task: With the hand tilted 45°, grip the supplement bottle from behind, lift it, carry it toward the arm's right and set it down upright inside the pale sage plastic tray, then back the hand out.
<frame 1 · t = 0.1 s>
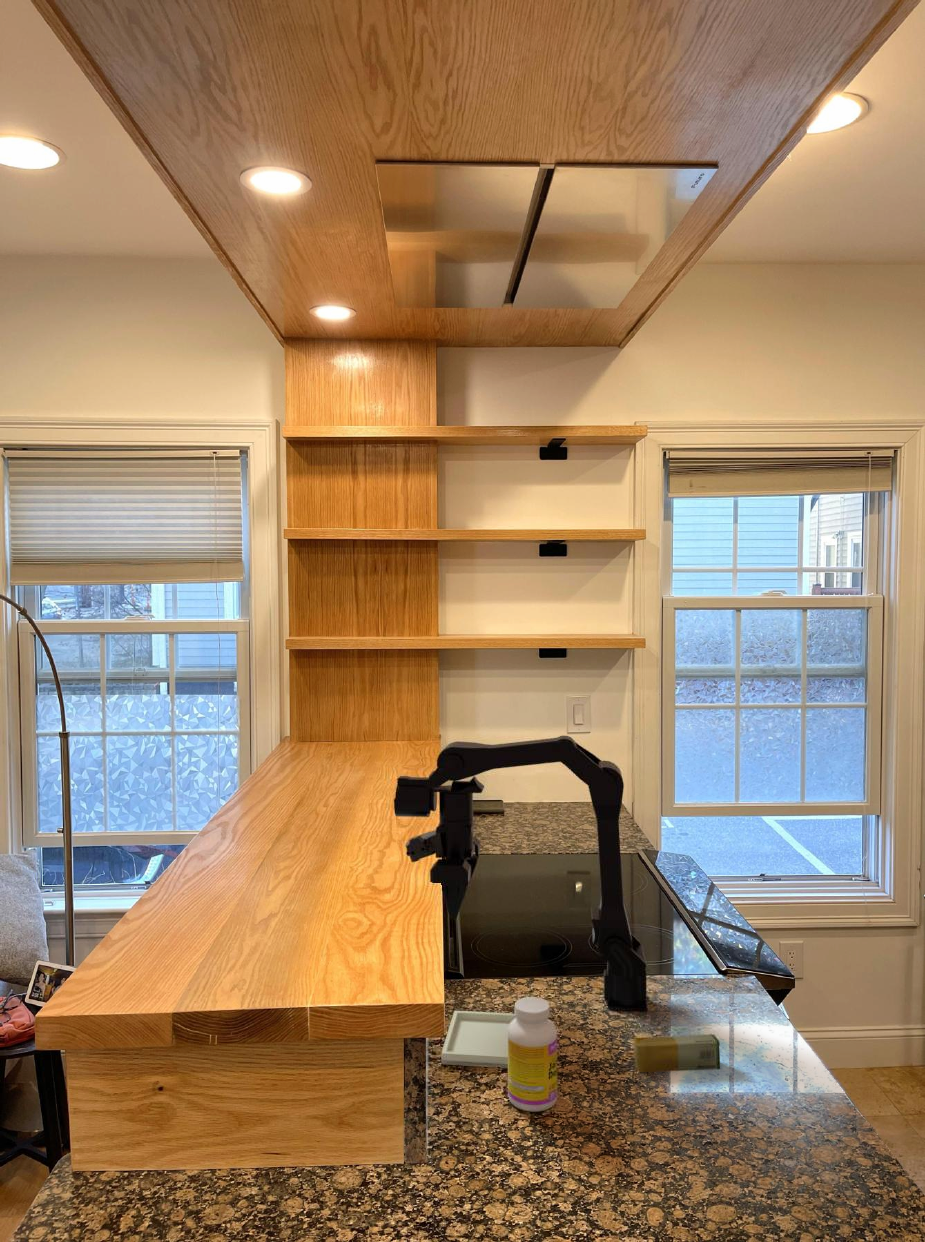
hand: (457, 908, 147), 15 cm above the worktop, tool pointing down, fingers open, 9 cm apart
medication box: (676, 1068, 124), on the worktop
tray: (491, 1043, 131), on the worktop
supplement bottle: (532, 1100, 116), on the worktop
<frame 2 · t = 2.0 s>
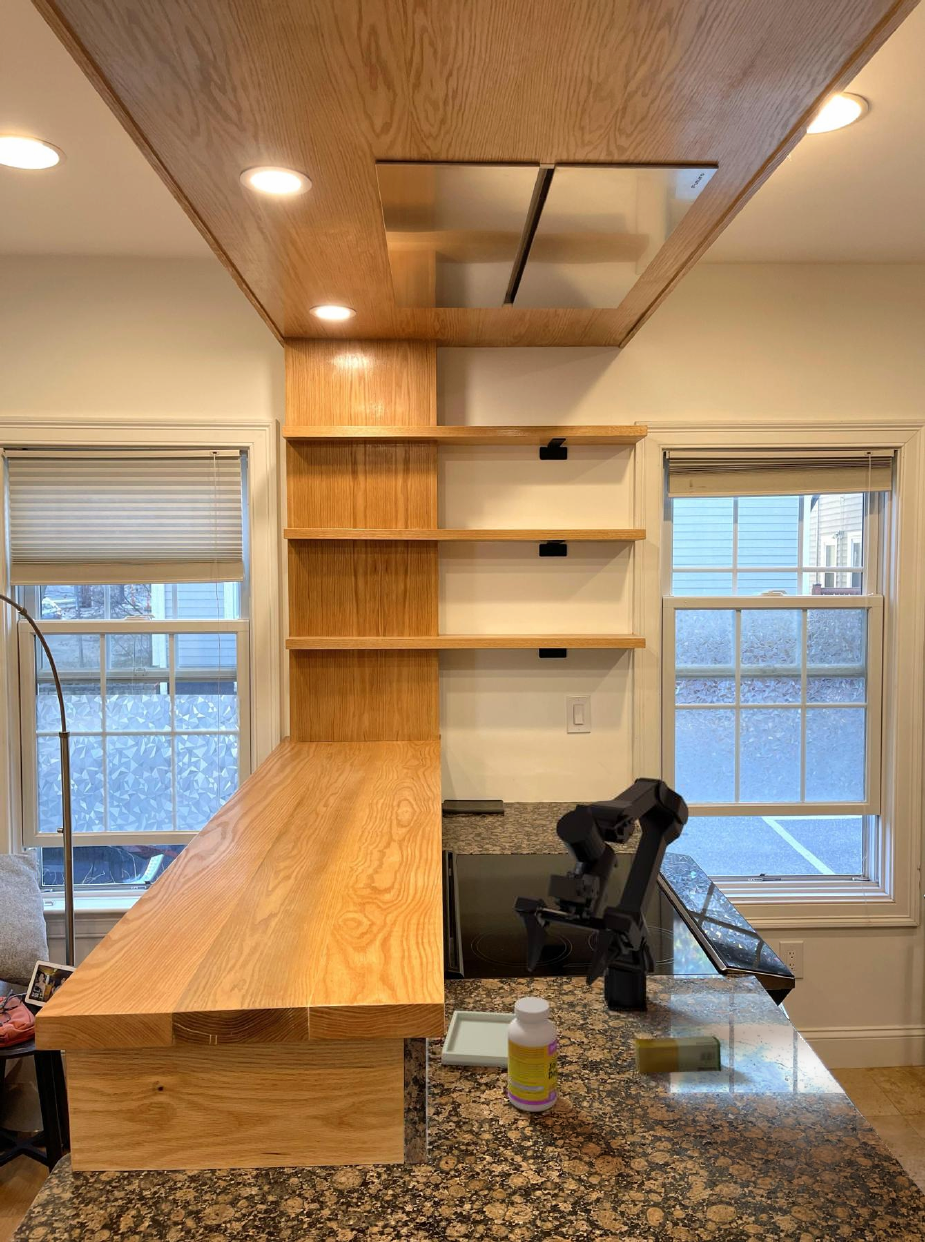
hand: (557, 976, 123), 14 cm above the worktop, tool tilted 45°, fingers open, 9 cm apart
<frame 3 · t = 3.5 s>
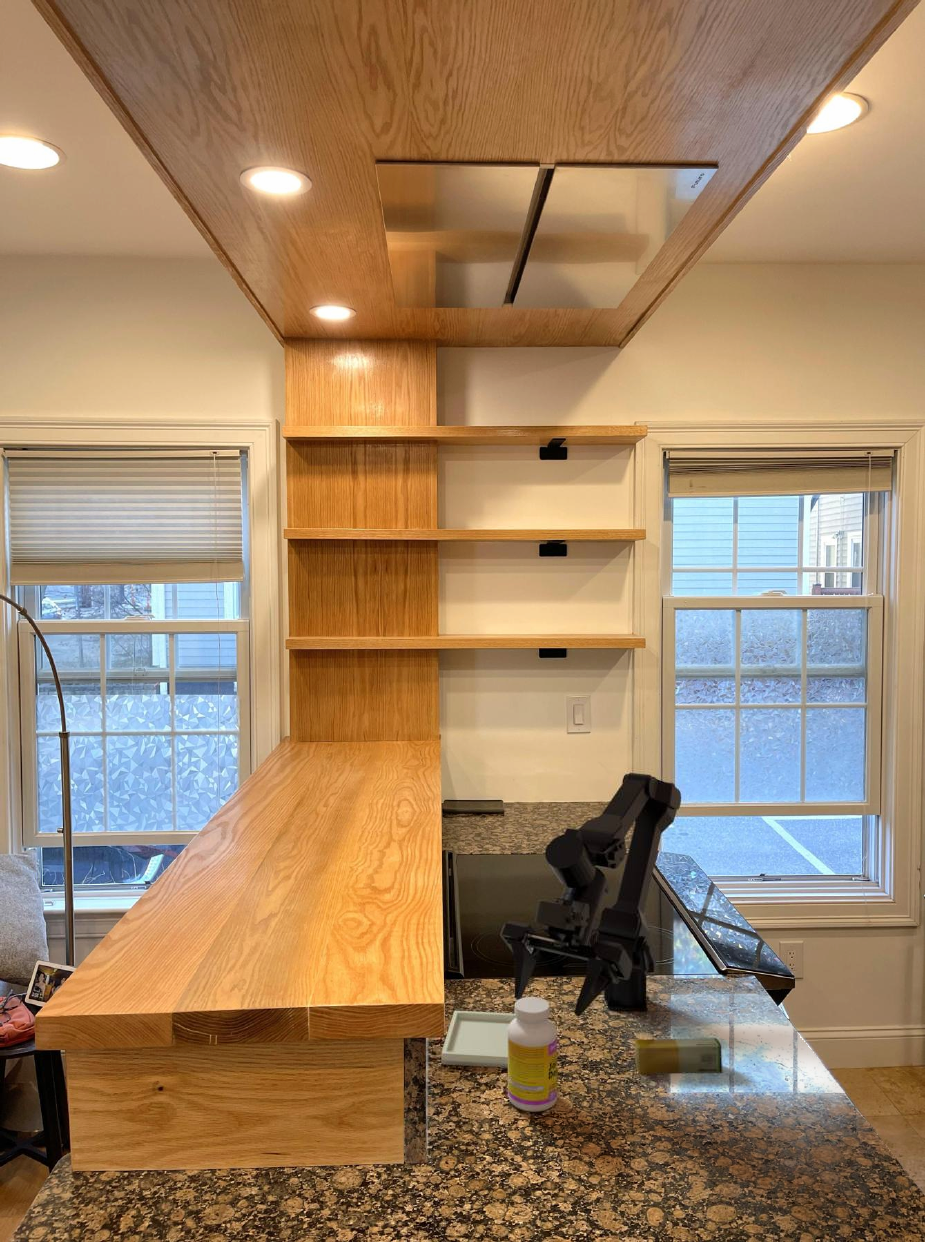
hand: (546, 1007, 119), 11 cm above the worktop, tool tilted 45°, fingers open, 9 cm apart
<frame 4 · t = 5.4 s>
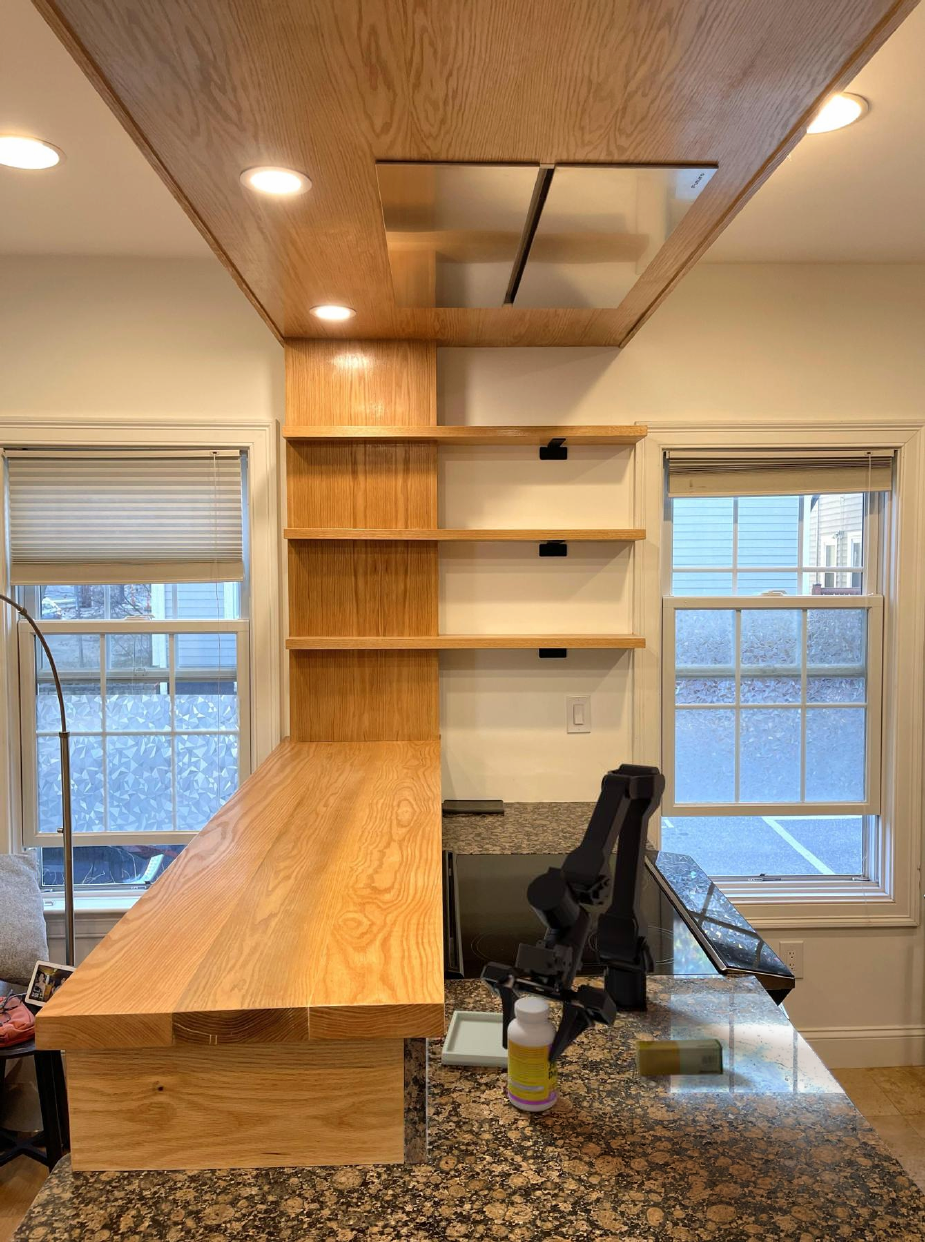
hand: (527, 1055, 115), 7 cm above the worktop, tool tilted 45°, fingers closed on supplement bottle, 7 cm apart
supplement bottle: (532, 1100, 116), on the worktop, touching gripper
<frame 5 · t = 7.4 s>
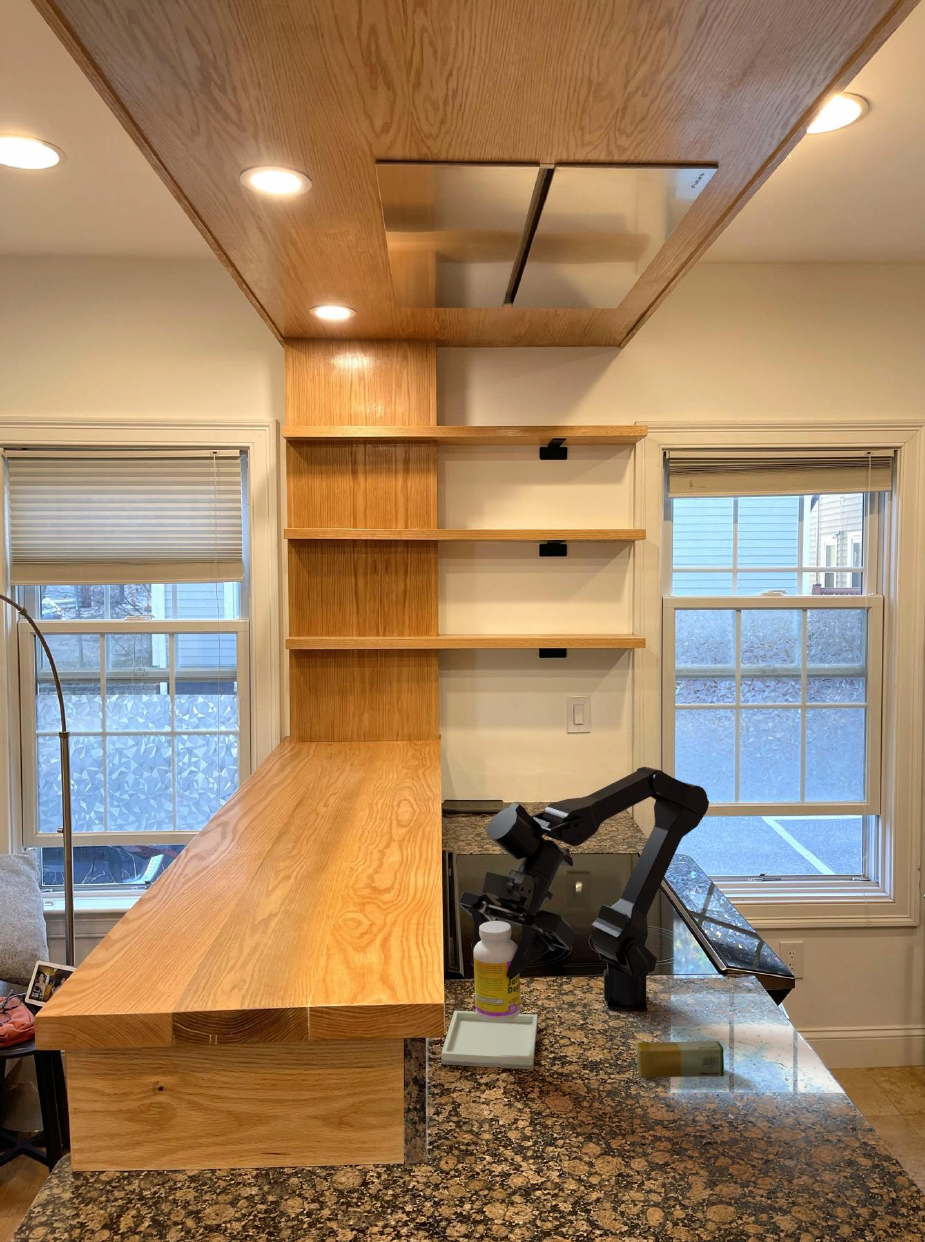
hand: (490, 971, 126), 13 cm above the worktop, tool tilted 45°, fingers closed on supplement bottle, 7 cm apart
supplement bottle: (498, 1014, 127), point 6 cm above the worktop, touching gripper
when the fingers open (8 cm above the worktop, at t = 9.4 s): supplement bottle stays where it is, resting on tray.
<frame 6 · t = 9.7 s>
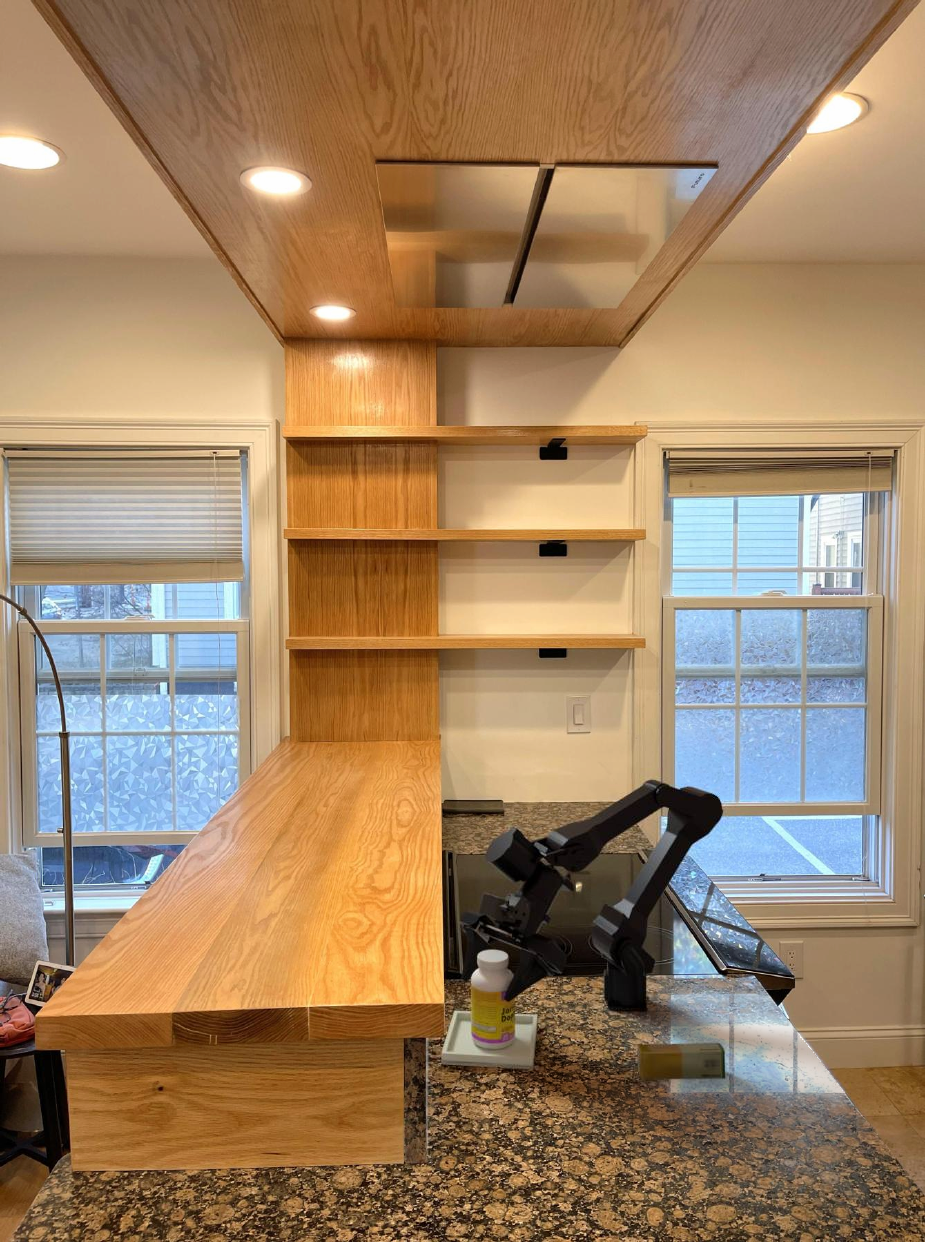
hand: (484, 990, 130), 9 cm above the worktop, tool tilted 45°, fingers open, 9 cm apart
supplement bottle: (493, 1041, 131), resting on tray
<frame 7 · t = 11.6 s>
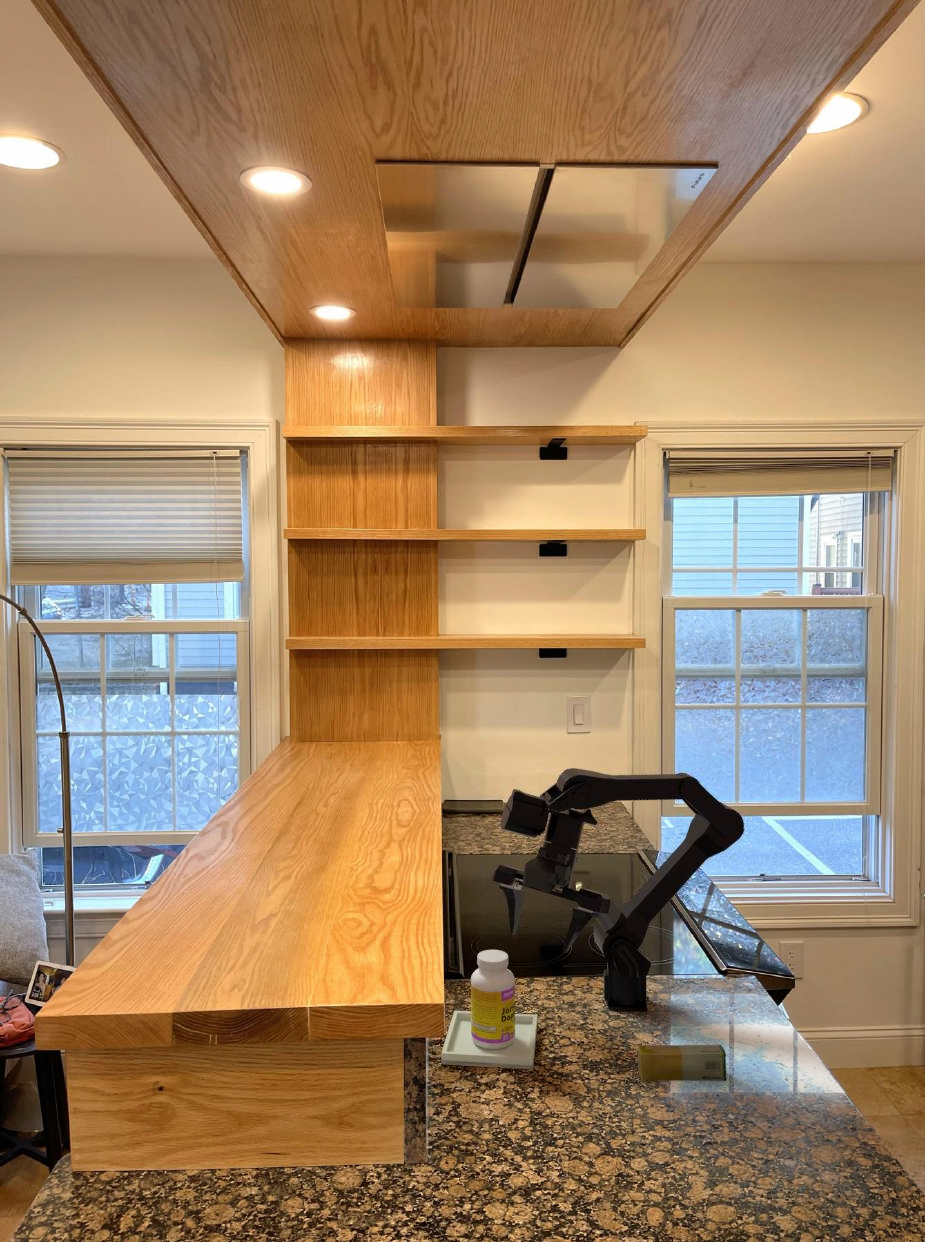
hand: (538, 943, 138), 12 cm above the worktop, tool tilted 20°, fingers open, 9 cm apart
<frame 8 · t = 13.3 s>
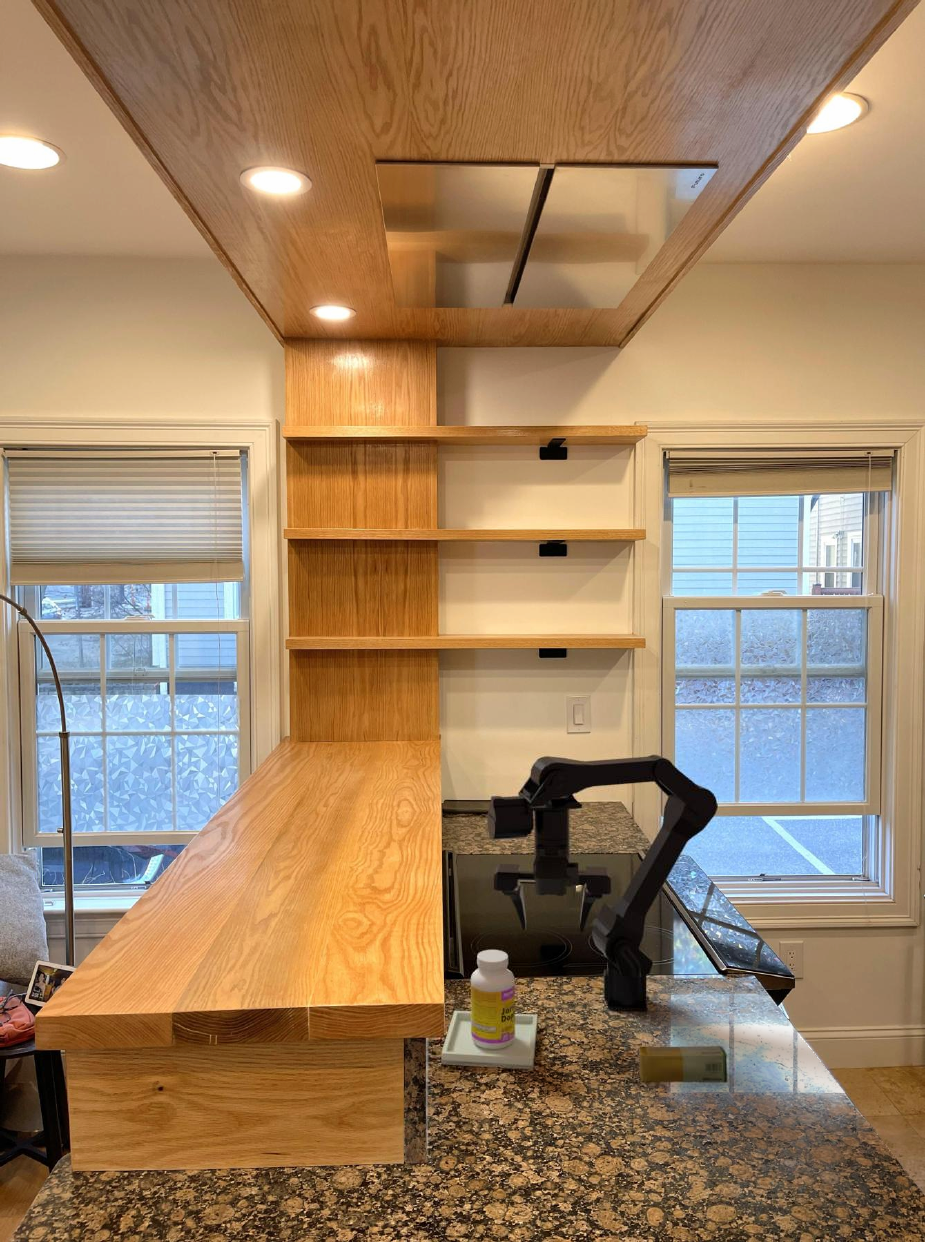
hand: (552, 930, 141), 13 cm above the worktop, tool pointing down, fingers open, 9 cm apart
at the end: supplement bottle inside the target area on the tray (0.3 cm from its centre), point 0.4 cm above the tray's base; supplement bottle tilted 0°; the gripper is holding nothing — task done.
